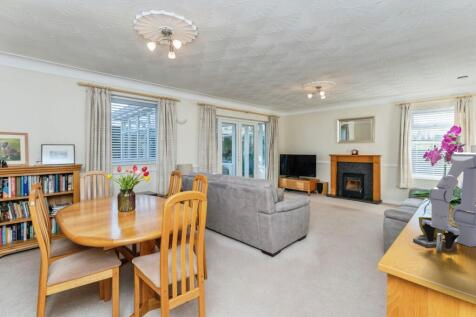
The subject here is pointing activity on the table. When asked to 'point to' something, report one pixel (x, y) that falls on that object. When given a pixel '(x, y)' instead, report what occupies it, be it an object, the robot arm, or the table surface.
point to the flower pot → (424, 224)
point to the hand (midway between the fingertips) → (439, 244)
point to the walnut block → (454, 246)
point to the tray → (425, 242)
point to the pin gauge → (439, 242)
